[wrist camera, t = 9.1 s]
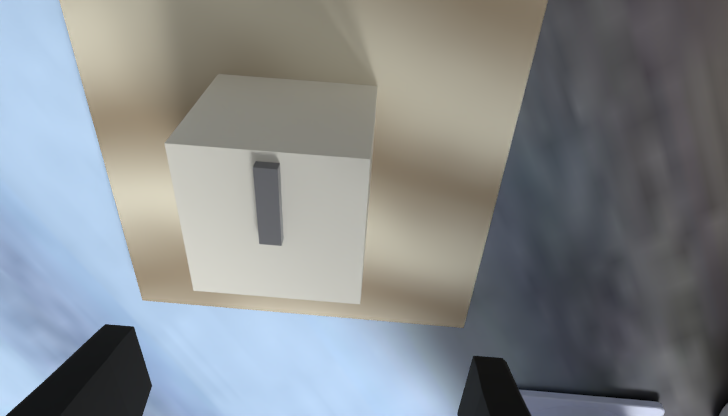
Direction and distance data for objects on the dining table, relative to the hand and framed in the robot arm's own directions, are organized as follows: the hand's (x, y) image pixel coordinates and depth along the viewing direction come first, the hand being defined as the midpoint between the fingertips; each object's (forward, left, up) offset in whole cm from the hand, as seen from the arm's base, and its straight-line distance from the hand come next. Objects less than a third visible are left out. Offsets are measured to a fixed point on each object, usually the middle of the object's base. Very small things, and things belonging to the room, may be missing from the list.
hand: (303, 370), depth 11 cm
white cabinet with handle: (+1, +1, -8) cm, 8 cm away
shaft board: (+1, +1, -9) cm, 9 cm away
